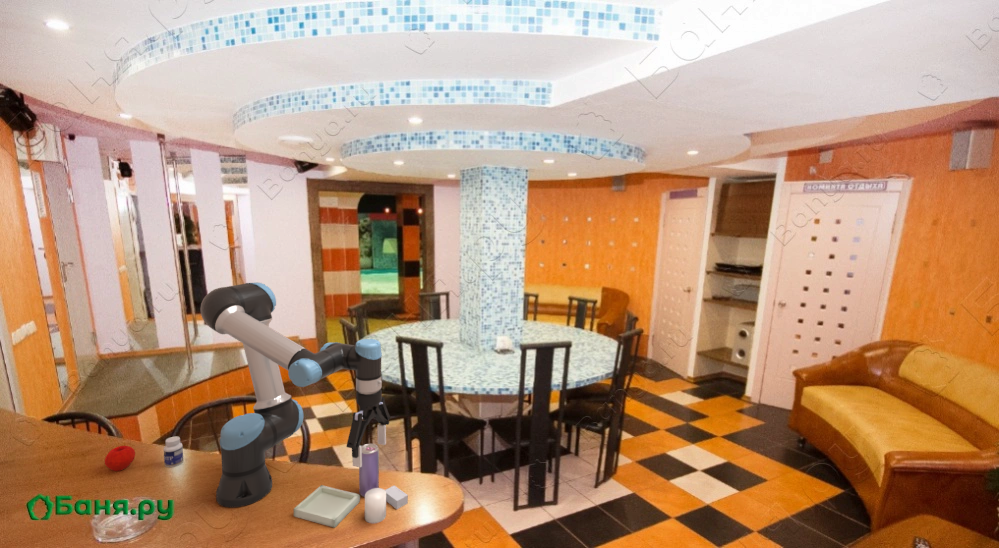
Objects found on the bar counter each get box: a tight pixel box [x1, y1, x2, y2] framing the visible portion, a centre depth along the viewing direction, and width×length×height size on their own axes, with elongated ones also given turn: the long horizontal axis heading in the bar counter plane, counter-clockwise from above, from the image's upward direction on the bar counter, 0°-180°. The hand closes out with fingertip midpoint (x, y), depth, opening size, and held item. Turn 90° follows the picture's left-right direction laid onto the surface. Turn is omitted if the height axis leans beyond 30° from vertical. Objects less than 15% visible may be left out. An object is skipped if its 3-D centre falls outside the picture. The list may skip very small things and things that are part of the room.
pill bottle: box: [163, 435, 184, 468], centre depth 150 cm, size 5×5×9 cm
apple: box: [104, 445, 136, 472], centre depth 146 cm, size 8×8×7 cm
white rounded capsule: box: [364, 487, 387, 524], centre depth 128 cm, size 6×6×7 cm
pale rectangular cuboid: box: [384, 485, 409, 510], centre depth 136 cm, size 7×4×3 cm, turn 49°
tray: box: [293, 484, 361, 529], centre depth 131 cm, size 14×12×2 cm
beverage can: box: [358, 443, 380, 498], centre depth 138 cm, size 6×6×15 cm
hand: (370, 454), depth 138 cm, fingers open, 13 cm apart
